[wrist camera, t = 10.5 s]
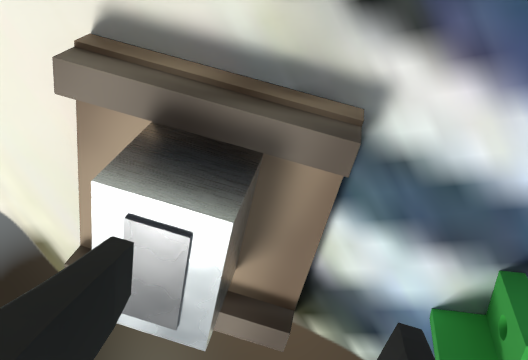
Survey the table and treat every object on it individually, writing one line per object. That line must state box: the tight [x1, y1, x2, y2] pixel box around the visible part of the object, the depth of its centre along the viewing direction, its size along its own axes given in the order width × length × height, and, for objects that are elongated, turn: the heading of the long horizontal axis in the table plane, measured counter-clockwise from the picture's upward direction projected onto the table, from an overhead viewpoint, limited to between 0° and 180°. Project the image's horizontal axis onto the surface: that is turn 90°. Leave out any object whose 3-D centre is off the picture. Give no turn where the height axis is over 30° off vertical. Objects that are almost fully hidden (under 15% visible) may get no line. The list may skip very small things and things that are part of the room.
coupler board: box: [52, 34, 364, 352], centre depth 21 cm, size 12×13×3 cm
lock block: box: [91, 122, 263, 351], centre depth 19 cm, size 5×7×5 cm
